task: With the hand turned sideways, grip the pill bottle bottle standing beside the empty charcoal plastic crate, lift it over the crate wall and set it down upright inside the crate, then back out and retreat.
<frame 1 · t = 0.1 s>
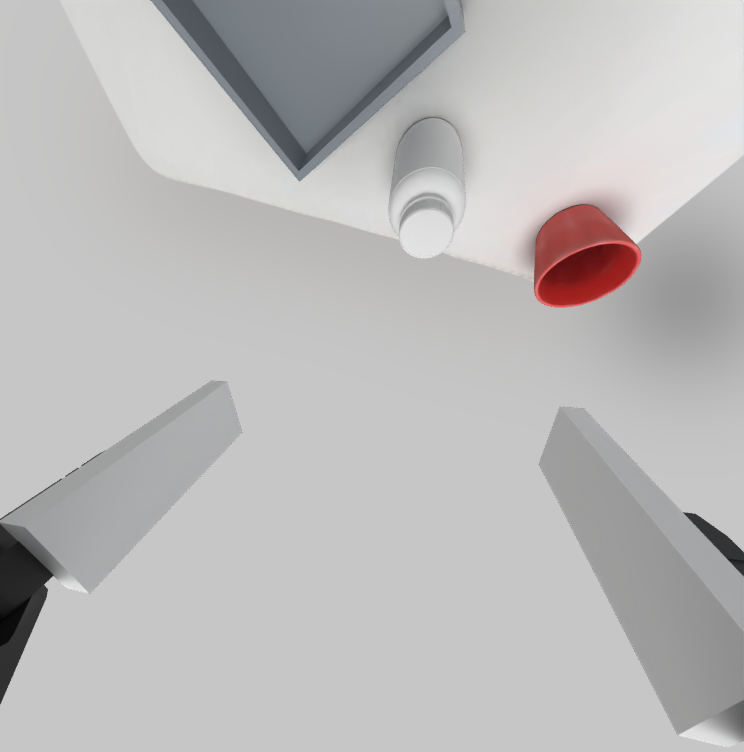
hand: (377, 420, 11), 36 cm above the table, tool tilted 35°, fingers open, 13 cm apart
pill bottle: (428, 156, 33), on the table
flower pot: (567, 230, 38), on the table
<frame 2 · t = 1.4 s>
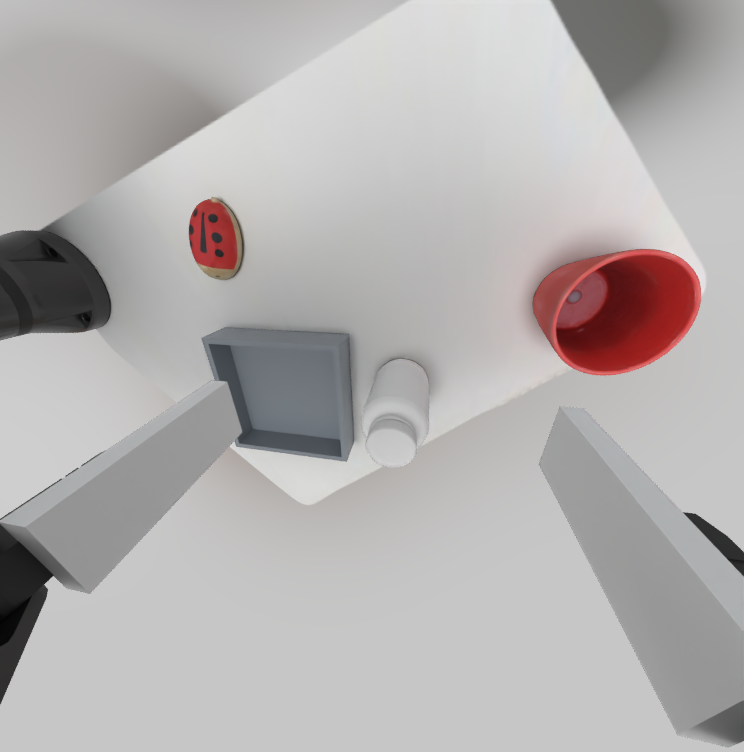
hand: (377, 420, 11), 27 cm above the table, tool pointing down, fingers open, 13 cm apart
pill bottle: (402, 380, 40), on the table
crate: (293, 388, 44), on the table
flower pot: (568, 296, 31), on the table
ladybug figurine: (223, 242, 36), on the table
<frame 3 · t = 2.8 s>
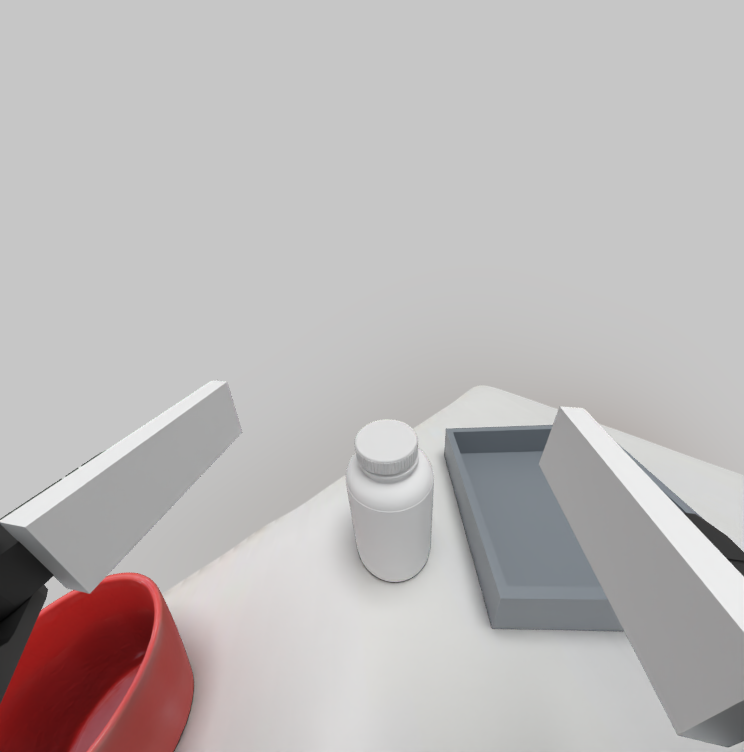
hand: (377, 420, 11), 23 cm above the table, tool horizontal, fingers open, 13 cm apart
pill bottle: (393, 544, 29), on the table
crate: (550, 516, 30), on the table
flower pot: (133, 732, 19), on the table
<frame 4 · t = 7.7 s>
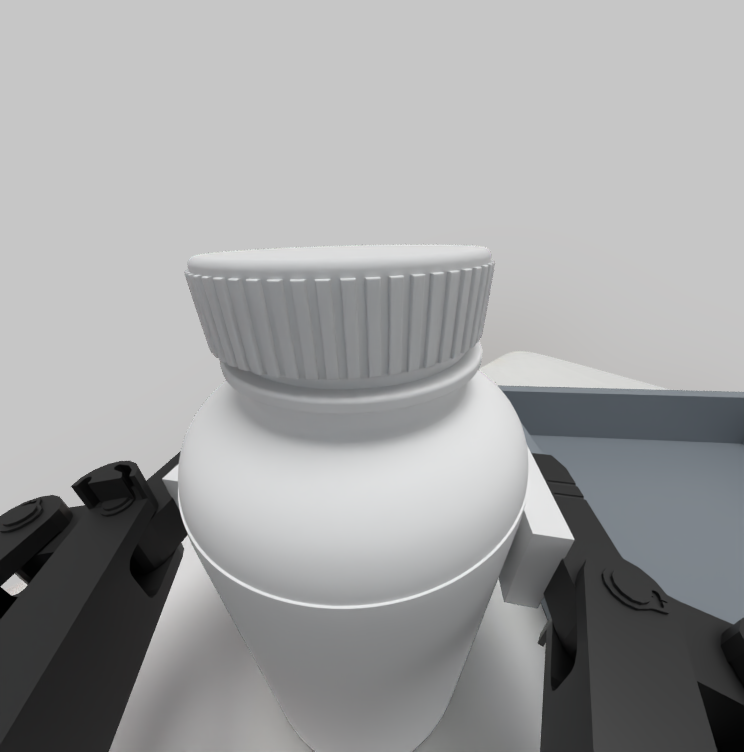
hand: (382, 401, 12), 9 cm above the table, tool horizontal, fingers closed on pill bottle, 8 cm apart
pill bottle: (367, 621, 12), on the table, touching gripper
crate: (736, 578, 13), on the table
when the fingers open (11 cm above the table, at t = 13.6 s): pill bottle drops 1 cm, resting on crate.
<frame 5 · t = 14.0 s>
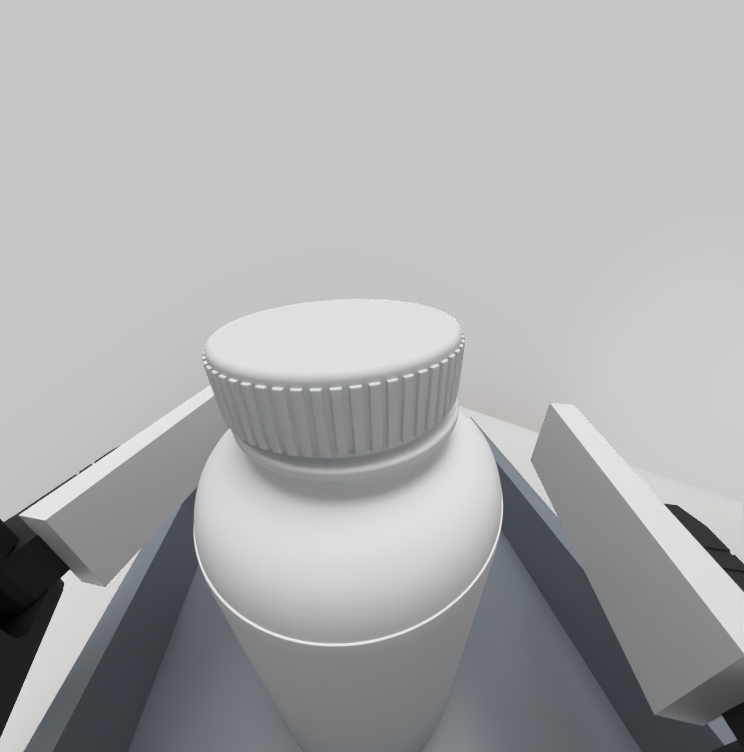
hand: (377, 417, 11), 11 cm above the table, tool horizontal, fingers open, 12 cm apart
pill bottle: (365, 636, 13), point 1 cm above the table, touching crate
crate: (368, 643, 13), on the table
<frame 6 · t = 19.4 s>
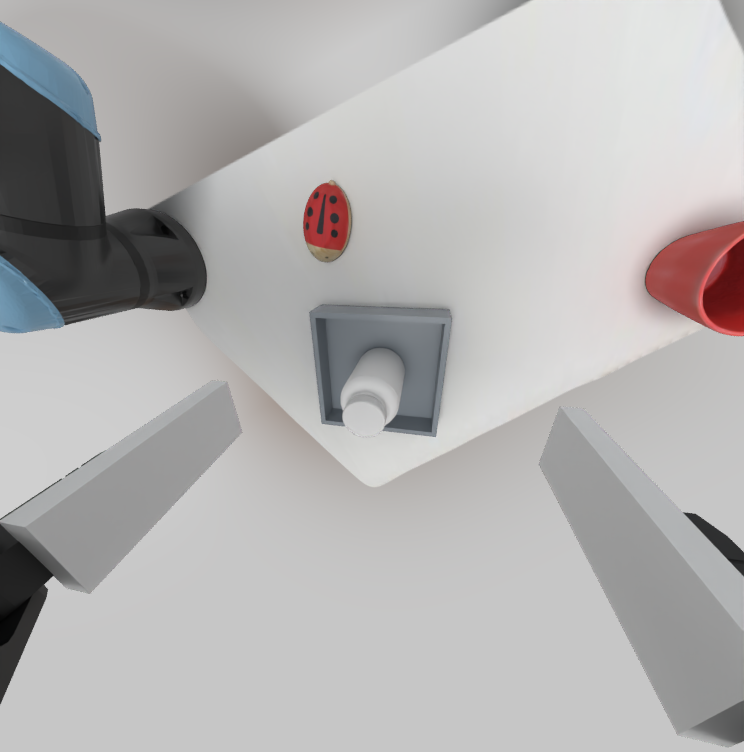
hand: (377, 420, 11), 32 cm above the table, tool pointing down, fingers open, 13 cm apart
pill bottle: (381, 367, 45), point 1 cm above the table, touching crate
crate: (381, 365, 46), on the table
flower pot: (682, 268, 32), on the table
ladybug figurine: (329, 225, 38), on the table
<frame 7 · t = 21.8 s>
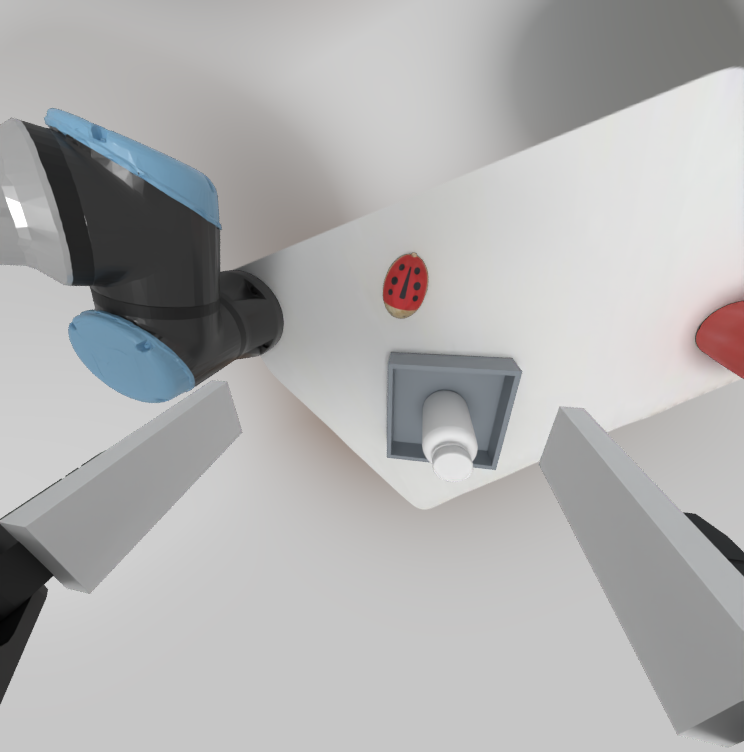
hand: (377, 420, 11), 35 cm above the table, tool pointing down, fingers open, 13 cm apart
pill bottle: (444, 406, 49), point 1 cm above the table, touching crate
crate: (443, 404, 50), on the table
flower pot: (729, 327, 37), on the table
ladybug figurine: (405, 286, 42), on the table
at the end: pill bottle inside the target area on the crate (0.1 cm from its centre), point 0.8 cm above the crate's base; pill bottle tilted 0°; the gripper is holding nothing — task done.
